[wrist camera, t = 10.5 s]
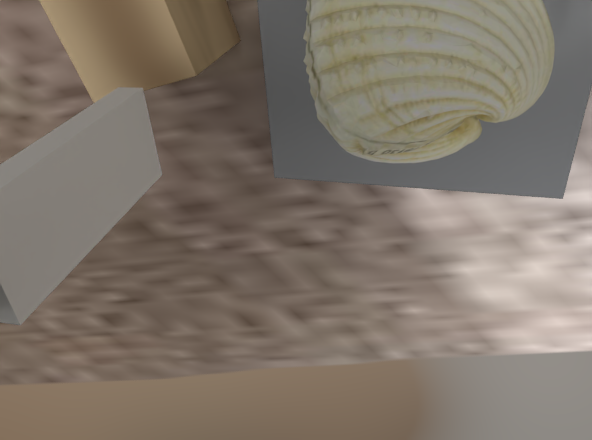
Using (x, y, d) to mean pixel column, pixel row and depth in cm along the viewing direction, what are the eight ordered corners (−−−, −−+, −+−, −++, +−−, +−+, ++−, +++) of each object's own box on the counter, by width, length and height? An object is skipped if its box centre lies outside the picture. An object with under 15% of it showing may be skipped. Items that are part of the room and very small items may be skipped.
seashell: (423, 218, 22) (251, 178, 18) (410, 51, 25) (259, -12, 21) (612, 137, 15) (401, 51, 12) (565, -78, 18) (384, -201, 15)
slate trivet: (281, 166, 27) (274, 177, 26) (254, -144, 20) (243, -144, 19) (558, 185, 23) (562, 198, 22) (647, -178, 16) (658, -180, 15)
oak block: (152, 67, 26) (94, 105, 22) (102, -41, 23) (27, -21, 19) (241, 39, 24) (196, 75, 20) (196, -81, 21) (135, -68, 17)
